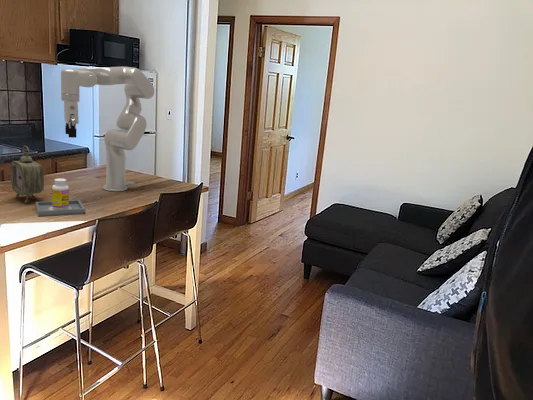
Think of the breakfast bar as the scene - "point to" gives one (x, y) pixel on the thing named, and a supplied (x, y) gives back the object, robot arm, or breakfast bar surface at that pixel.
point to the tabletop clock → (27, 176)
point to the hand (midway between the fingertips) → (70, 135)
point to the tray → (47, 210)
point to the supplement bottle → (60, 194)
